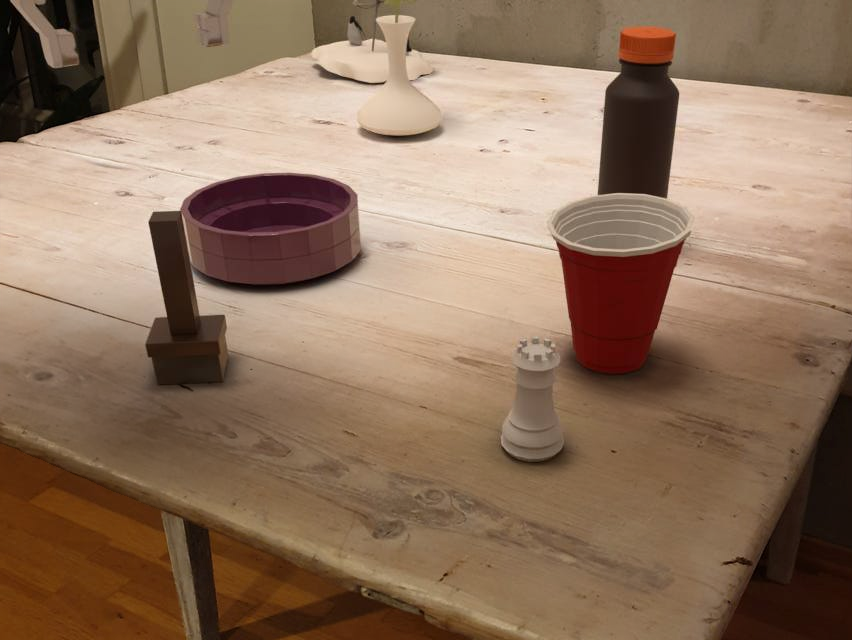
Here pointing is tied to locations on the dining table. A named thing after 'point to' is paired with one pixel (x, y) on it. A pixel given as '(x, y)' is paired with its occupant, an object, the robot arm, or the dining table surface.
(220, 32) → the robot arm
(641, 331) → the plastic cup
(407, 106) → the flower in vase
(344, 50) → the figurine
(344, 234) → the bowl
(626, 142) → the bottle
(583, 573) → the dining table surface
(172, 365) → the brush
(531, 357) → the rook chess piece
